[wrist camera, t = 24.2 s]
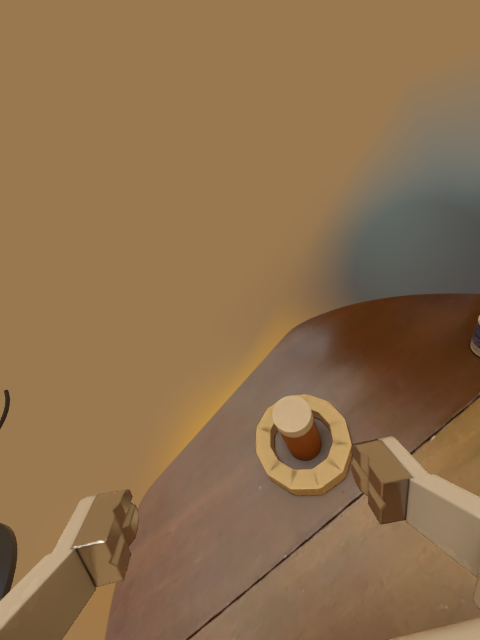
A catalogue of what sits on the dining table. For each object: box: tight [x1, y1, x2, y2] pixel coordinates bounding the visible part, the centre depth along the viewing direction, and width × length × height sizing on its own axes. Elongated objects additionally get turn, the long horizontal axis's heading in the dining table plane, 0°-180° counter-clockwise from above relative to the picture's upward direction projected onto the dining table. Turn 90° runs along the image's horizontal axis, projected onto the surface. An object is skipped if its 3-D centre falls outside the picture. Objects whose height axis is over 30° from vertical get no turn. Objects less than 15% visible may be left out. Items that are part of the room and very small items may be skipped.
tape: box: [256, 394, 352, 495], centre depth 37 cm, size 14×14×2 cm
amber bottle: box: [272, 396, 321, 460], centre depth 35 cm, size 5×5×9 cm
